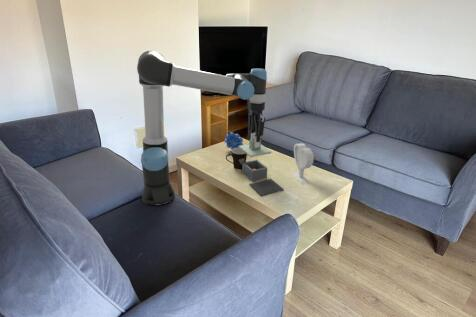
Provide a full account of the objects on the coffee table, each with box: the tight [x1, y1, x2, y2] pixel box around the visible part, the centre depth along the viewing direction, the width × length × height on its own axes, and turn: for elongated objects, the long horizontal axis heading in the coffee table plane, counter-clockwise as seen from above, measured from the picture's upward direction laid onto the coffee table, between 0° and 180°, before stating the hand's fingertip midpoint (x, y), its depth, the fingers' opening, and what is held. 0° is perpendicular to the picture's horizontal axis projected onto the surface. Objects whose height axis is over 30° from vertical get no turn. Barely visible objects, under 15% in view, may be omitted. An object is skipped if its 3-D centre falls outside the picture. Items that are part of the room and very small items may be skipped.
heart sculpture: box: [291, 143, 315, 185], centre depth 178 cm, size 16×5×18 cm, turn 16°
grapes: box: [223, 132, 244, 151], centre depth 209 cm, size 12×7×12 cm, turn 92°
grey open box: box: [241, 159, 268, 183], centre depth 182 cm, size 9×11×6 cm
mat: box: [248, 178, 285, 197], centre depth 172 cm, size 13×12×1 cm
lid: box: [239, 138, 272, 158], centre depth 176 cm, size 12×13×6 cm
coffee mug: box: [225, 148, 248, 171], centre depth 190 cm, size 12×9×10 cm
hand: (254, 145), depth 176 cm, fingers closed on lid, 3 cm apart
